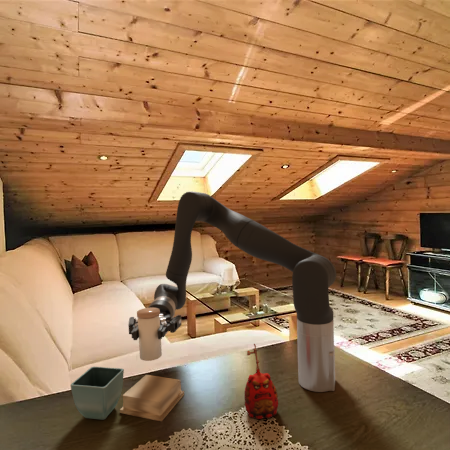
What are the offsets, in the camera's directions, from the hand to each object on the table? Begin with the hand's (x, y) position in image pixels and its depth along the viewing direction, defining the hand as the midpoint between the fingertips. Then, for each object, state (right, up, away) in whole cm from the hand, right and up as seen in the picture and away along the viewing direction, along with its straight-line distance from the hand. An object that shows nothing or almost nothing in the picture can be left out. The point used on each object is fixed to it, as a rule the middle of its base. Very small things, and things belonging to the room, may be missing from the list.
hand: (147, 335), depth 79 cm
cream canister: (0, -6, +3) cm, 7 cm away
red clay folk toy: (+27, -17, -2) cm, 32 cm away
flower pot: (-11, -19, 0) cm, 21 cm away
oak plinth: (+1, -18, +3) cm, 18 cm away
